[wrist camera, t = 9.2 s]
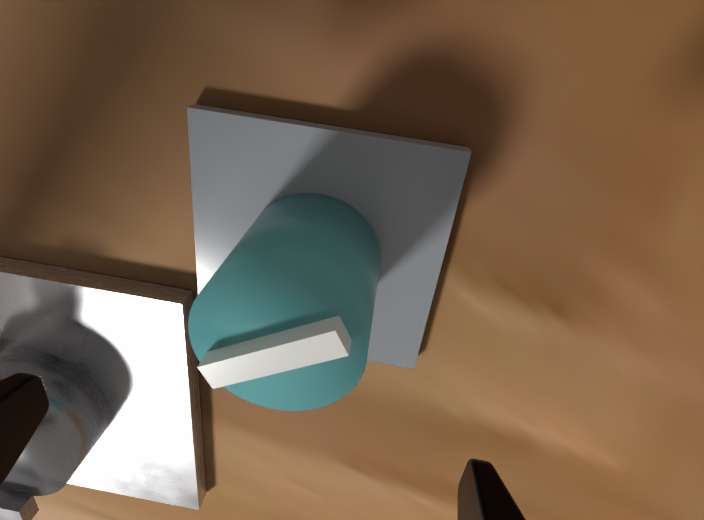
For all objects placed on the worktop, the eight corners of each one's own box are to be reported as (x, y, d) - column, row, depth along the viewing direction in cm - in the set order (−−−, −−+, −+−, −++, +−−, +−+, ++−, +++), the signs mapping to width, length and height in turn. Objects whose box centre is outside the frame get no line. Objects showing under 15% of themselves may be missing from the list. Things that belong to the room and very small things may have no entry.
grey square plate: (206, 492, 25) (165, 588, 21) (-26, 446, 26) (-111, 530, 22) (192, 290, 18) (126, 372, 14) (-125, 234, 19) (-280, 296, 15)
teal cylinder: (286, 322, 18) (237, 440, 13) (225, 218, 16) (140, 311, 11) (399, 290, 16) (393, 409, 11) (348, 172, 14) (313, 254, 9)
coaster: (414, 359, 18) (414, 368, 18) (206, 321, 19) (200, 330, 18) (469, 147, 14) (471, 152, 13) (195, 103, 14) (186, 107, 14)
